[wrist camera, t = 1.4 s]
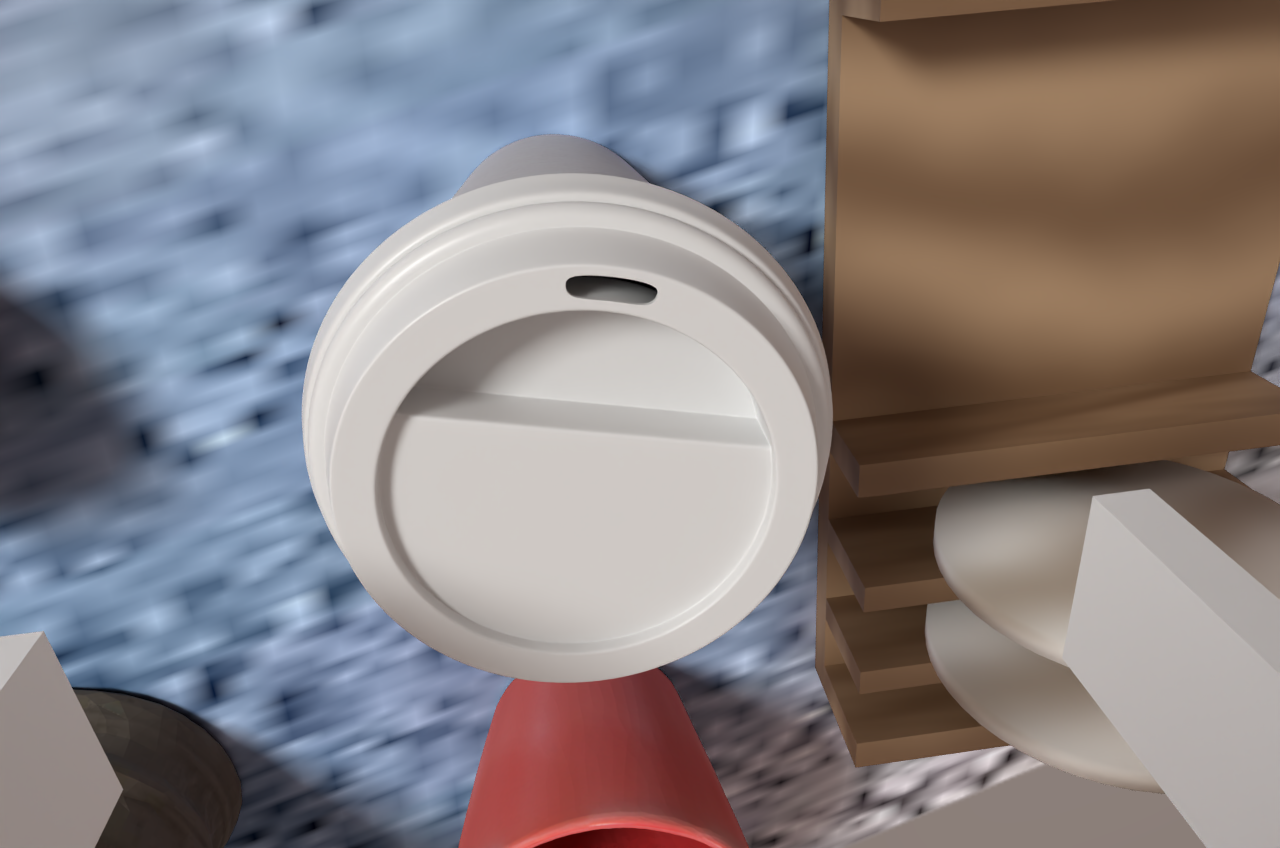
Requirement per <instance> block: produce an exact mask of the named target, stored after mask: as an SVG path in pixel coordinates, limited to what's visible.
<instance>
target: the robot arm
mask: <svg viewBox="0 0 1280 848" xmlns="http://www.w3.org/2000/svg"><path fill="white" fill-rule="evenodd" d="M1062 658H1063V660H1064V661H1065V662H1066V664H1067V665H1068V666H1069V668H1070V669H1071V670H1072V672H1073V673H1074V674H1075V675H1076V677H1077V678H1078V679H1079V681H1080V682H1081V683H1082V685H1083V686H1084V687H1085V689H1086V690H1087V691H1088V693H1089V694H1090V695H1091V697H1092V698H1093V699H1094V700H1095V702H1096V703H1097V704H1098V706H1099V707H1100V708H1101V710H1102V711H1103V712H1104V714H1105V715H1106V716H1107V718H1108V719H1109V720H1110V721H1111V723H1112V724H1113V725H1114V727H1115V728H1116V729H1117V731H1118V732H1119V733H1120V735H1121V736H1122V737H1123V739H1124V740H1125V741H1126V742H1127V744H1128V745H1129V746H1130V748H1131V749H1132V750H1133V752H1134V753H1135V754H1136V756H1137V757H1138V758H1139V760H1140V761H1141V762H1142V764H1143V765H1144V766H1145V767H1146V769H1147V770H1148V771H1149V773H1150V774H1151V775H1152V777H1153V778H1154V779H1155V781H1156V782H1157V783H1158V785H1159V786H1160V787H1161V788H1162V790H1163V791H1164V792H1165V794H1166V795H1167V796H1168V798H1169V799H1170V800H1171V802H1172V803H1173V804H1174V806H1175V807H1176V808H1177V809H1178V811H1179V812H1180V813H1181V815H1182V816H1183V817H1184V819H1185V820H1186V821H1187V823H1188V824H1189V825H1190V827H1191V828H1192V829H1193V830H1194V832H1195V833H1196V834H1197V836H1198V837H1199V838H1200V840H1201V841H1202V842H1203V843H1204V845H1205V846H1206V847H1207V848H1280V600H1279V599H1278V598H1277V597H1276V596H1275V595H1273V594H1272V593H1271V592H1270V591H1269V590H1268V589H1266V588H1265V587H1264V586H1263V585H1262V584H1261V583H1259V582H1258V581H1257V580H1256V579H1255V578H1254V577H1252V576H1251V575H1250V574H1249V573H1248V572H1247V571H1245V570H1244V569H1243V568H1242V567H1241V566H1240V565H1238V564H1237V563H1236V562H1235V561H1234V560H1233V559H1231V558H1230V557H1229V556H1228V555H1227V554H1226V553H1224V552H1223V551H1222V550H1221V549H1220V548H1218V547H1217V546H1216V545H1215V544H1214V543H1213V542H1211V541H1210V540H1209V539H1208V538H1207V537H1206V536H1204V535H1203V534H1202V533H1201V532H1200V531H1199V530H1197V529H1196V528H1195V527H1194V526H1193V525H1192V524H1190V523H1189V522H1188V521H1187V520H1186V519H1185V518H1183V517H1182V516H1181V515H1180V514H1179V513H1178V512H1176V511H1175V510H1174V509H1173V508H1172V507H1171V506H1169V505H1168V504H1167V503H1166V502H1165V501H1164V500H1162V499H1161V498H1160V497H1159V496H1158V495H1157V494H1155V493H1154V492H1153V491H1152V490H1151V489H1143V490H1135V491H1128V492H1120V493H1112V494H1104V495H1097V496H1093V498H1092V503H1091V509H1090V514H1089V519H1088V524H1087V530H1086V535H1085V540H1084V545H1083V551H1082V556H1081V561H1080V567H1079V572H1078V577H1077V582H1076V588H1075V593H1074V598H1073V604H1072V609H1071V614H1070V619H1069V625H1068V630H1067V635H1066V640H1065V646H1064V651H1063V656H1062ZM122 791H123V788H122V786H121V784H120V782H119V780H118V778H117V776H116V774H115V772H114V770H113V768H112V766H111V764H110V762H109V760H108V758H107V756H106V754H105V752H104V750H103V748H102V746H101V744H100V742H99V740H98V738H97V736H96V734H95V733H94V731H93V729H92V727H91V725H90V723H89V721H88V719H87V717H86V715H85V713H84V711H83V709H82V707H81V705H80V703H79V701H78V699H77V697H76V695H75V693H74V691H73V689H72V687H71V685H70V683H69V681H68V679H67V677H66V675H65V673H64V671H63V669H62V667H61V665H60V663H59V661H58V659H57V657H56V655H55V653H54V651H53V649H52V647H51V645H50V643H49V641H48V639H47V637H46V635H45V633H44V631H41V632H33V633H26V634H18V635H10V636H2V637H0V848H95V846H96V844H97V842H98V840H99V838H100V836H101V834H102V832H103V830H104V828H105V826H106V824H107V821H108V819H109V817H110V815H111V813H112V811H113V809H114V807H115V805H116V803H117V801H118V799H119V797H120V795H121V793H122Z"/></svg>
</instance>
